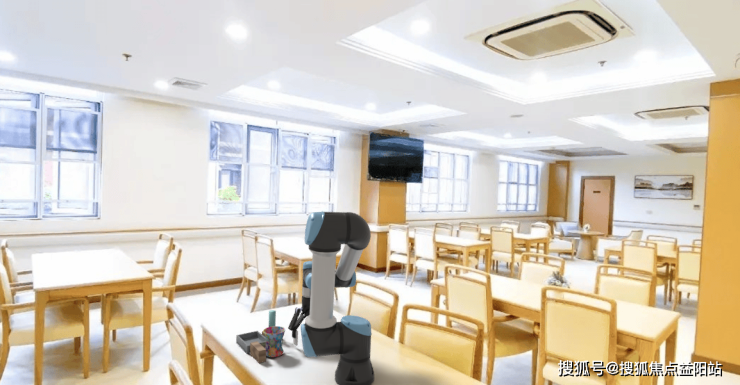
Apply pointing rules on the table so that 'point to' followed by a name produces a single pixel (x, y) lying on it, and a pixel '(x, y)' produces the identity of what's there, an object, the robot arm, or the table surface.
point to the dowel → (272, 318)
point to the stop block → (258, 352)
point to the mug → (274, 341)
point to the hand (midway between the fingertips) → (308, 341)
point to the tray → (250, 340)
